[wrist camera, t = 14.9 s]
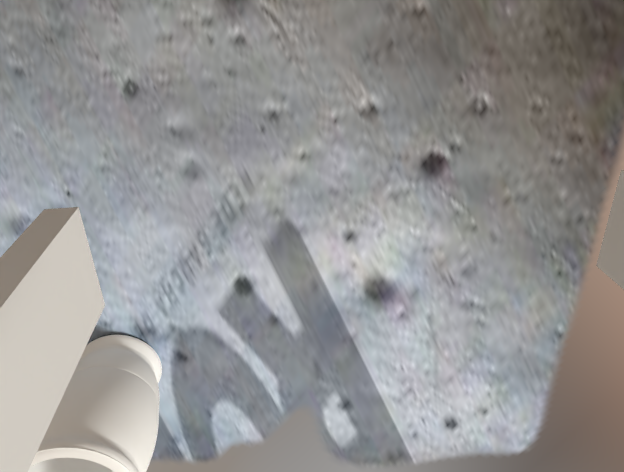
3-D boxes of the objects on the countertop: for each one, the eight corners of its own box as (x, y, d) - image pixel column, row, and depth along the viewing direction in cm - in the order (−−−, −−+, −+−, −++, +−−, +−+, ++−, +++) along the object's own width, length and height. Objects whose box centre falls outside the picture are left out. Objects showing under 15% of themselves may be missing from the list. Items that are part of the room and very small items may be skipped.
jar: (138, 418, 56) (98, 556, 42) (48, 376, 52) (-26, 512, 39) (192, 355, 52) (168, 482, 39) (100, 306, 49) (39, 428, 36)
